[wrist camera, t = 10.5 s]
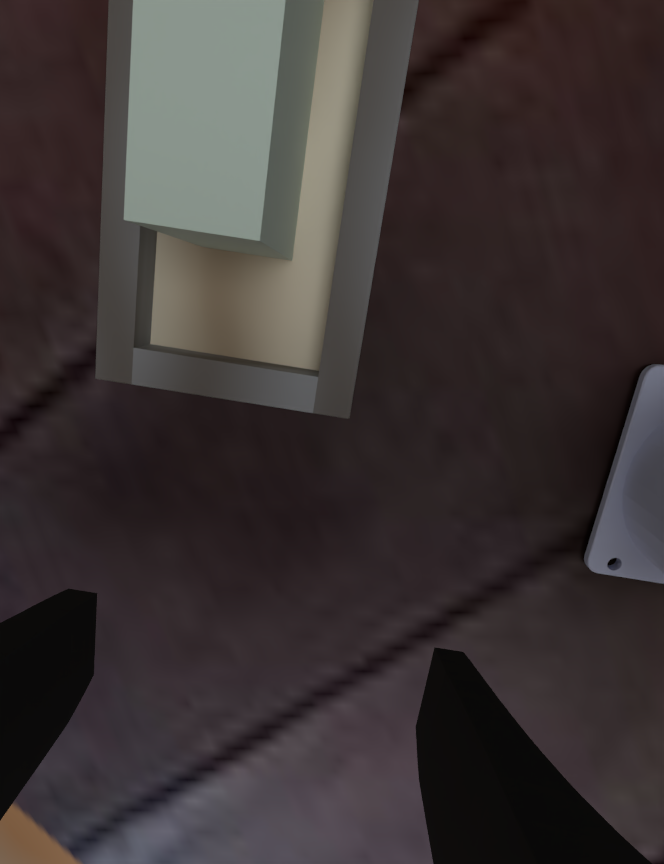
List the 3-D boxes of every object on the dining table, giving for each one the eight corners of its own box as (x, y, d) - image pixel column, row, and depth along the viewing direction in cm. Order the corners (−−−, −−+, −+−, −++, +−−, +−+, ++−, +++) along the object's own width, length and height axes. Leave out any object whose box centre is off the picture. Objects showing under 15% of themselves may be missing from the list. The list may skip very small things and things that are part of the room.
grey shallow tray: (456, -238, 14) (473, -332, 12) (349, 405, 19) (349, 418, 17) (157, -285, 14) (122, -386, 12) (124, 369, 19) (95, 378, 17)
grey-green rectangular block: (332, -67, 15) (318, -306, 9) (292, 260, 17) (260, 241, 11) (229, -83, 15) (147, -331, 9) (202, 246, 17) (123, 219, 11)
